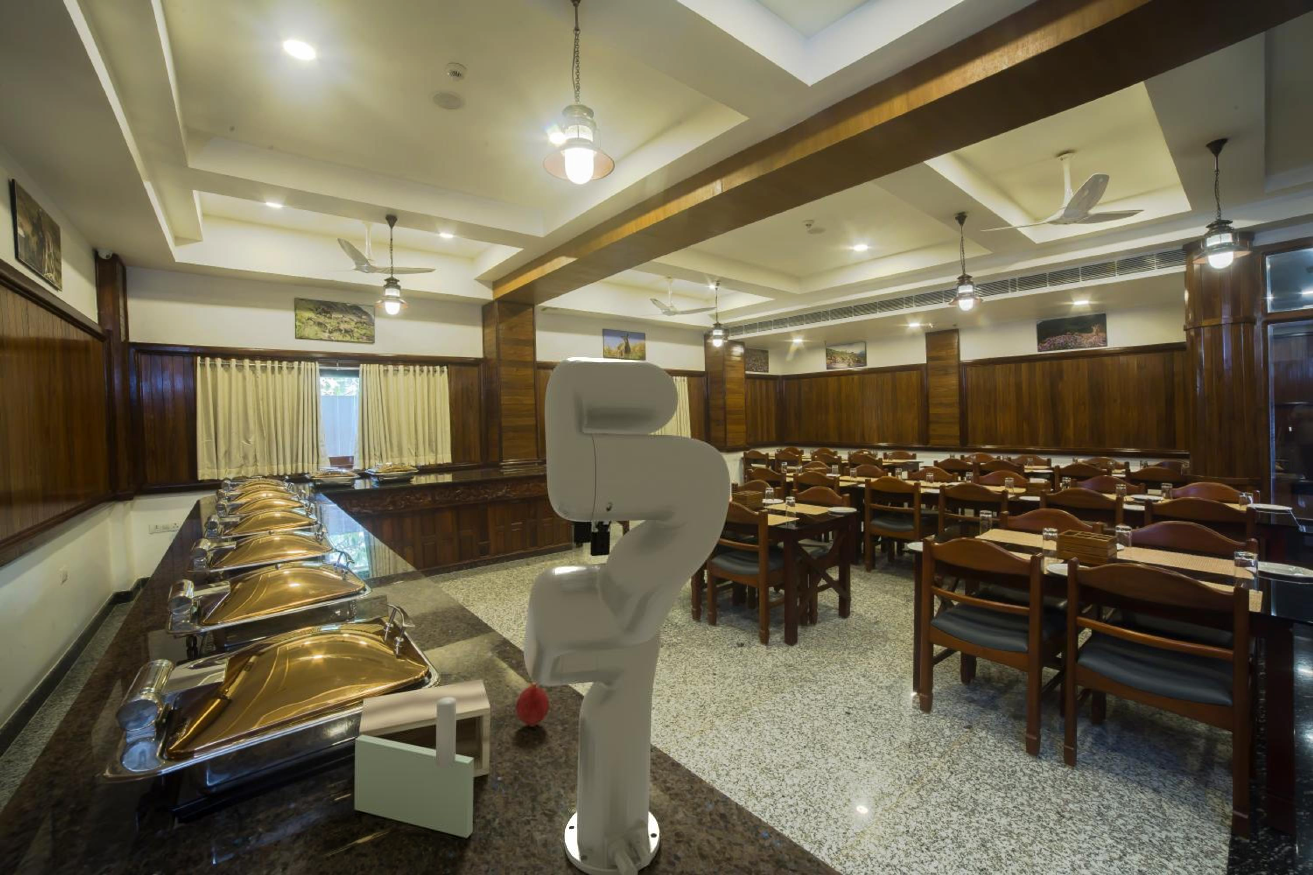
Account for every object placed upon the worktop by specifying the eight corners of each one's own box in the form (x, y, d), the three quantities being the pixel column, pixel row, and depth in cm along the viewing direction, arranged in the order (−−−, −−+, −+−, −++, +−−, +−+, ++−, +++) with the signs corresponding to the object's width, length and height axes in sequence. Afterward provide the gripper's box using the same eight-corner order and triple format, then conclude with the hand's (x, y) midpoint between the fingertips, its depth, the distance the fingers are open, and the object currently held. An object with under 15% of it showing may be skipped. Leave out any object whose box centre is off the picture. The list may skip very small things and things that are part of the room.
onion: (508, 729, 98) (509, 685, 98) (530, 714, 103) (531, 672, 103) (534, 738, 95) (535, 693, 95) (555, 722, 100) (556, 679, 100)
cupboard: (489, 773, 86) (490, 707, 85) (358, 804, 78) (359, 731, 78) (480, 738, 95) (482, 679, 94) (363, 763, 87) (363, 698, 87)
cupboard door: (458, 847, 70) (461, 710, 70) (344, 818, 75) (345, 688, 74) (472, 831, 73) (474, 698, 73) (361, 803, 78) (362, 678, 77)
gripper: (632, 453, 88) (629, 558, 89) (597, 447, 104) (595, 537, 104) (587, 453, 85) (584, 562, 86) (558, 447, 101) (556, 539, 101)
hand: (590, 548), depth 95 cm, fingers open, 9 cm apart
